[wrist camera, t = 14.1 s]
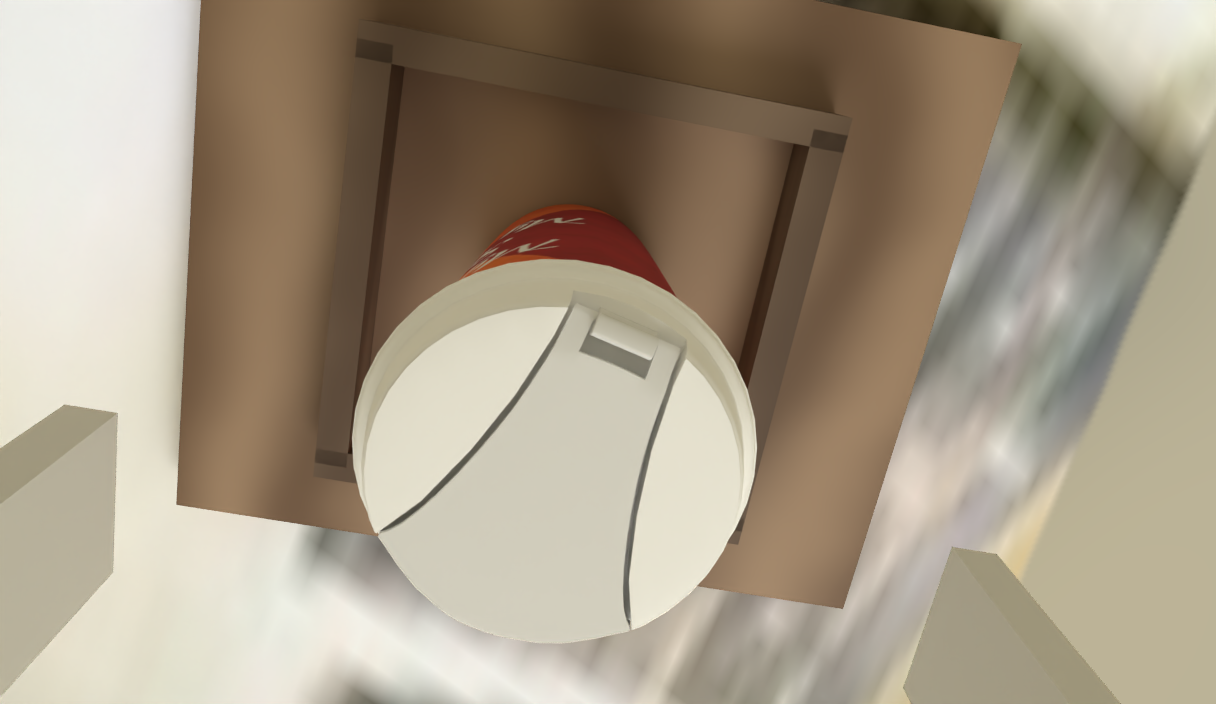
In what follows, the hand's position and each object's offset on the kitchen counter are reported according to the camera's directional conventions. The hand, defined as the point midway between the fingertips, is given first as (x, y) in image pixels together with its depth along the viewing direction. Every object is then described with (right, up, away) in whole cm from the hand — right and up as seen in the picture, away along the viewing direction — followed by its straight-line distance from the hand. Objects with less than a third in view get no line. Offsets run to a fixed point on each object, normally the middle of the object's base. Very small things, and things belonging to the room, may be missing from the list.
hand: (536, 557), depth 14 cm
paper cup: (0, +5, +15) cm, 16 cm away
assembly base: (0, +6, +16) cm, 18 cm away
